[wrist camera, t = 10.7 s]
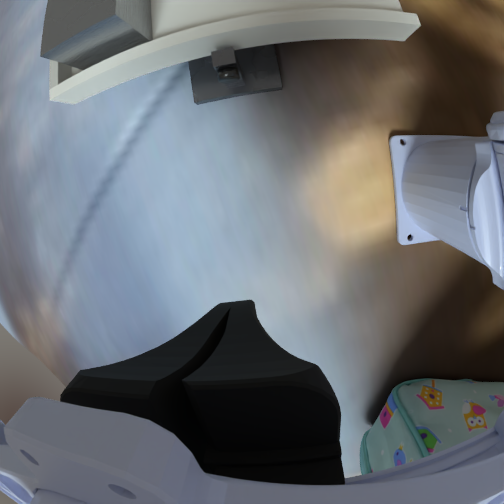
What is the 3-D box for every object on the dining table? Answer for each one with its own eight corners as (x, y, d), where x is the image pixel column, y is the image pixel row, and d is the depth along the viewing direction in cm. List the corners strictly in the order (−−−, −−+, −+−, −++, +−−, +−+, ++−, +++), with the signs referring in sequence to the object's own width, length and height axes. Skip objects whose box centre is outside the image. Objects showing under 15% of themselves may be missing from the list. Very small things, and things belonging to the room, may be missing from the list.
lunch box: (333, 431, 26) (350, 608, 6) (377, 361, 23) (449, 582, 3) (483, 428, 26) (530, 527, 6) (522, 375, 23) (591, 472, 3)
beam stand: (254, -32, 15) (247, -71, 9) (282, 91, 18) (284, 65, 13) (181, -17, 15) (159, -51, 10) (197, 106, 19) (171, 87, 13)
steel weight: (150, -14, 12) (119, -46, 7) (152, 43, 13) (115, 14, 9) (87, 15, 12) (49, -6, 8) (85, 71, 14) (40, 56, 9)
